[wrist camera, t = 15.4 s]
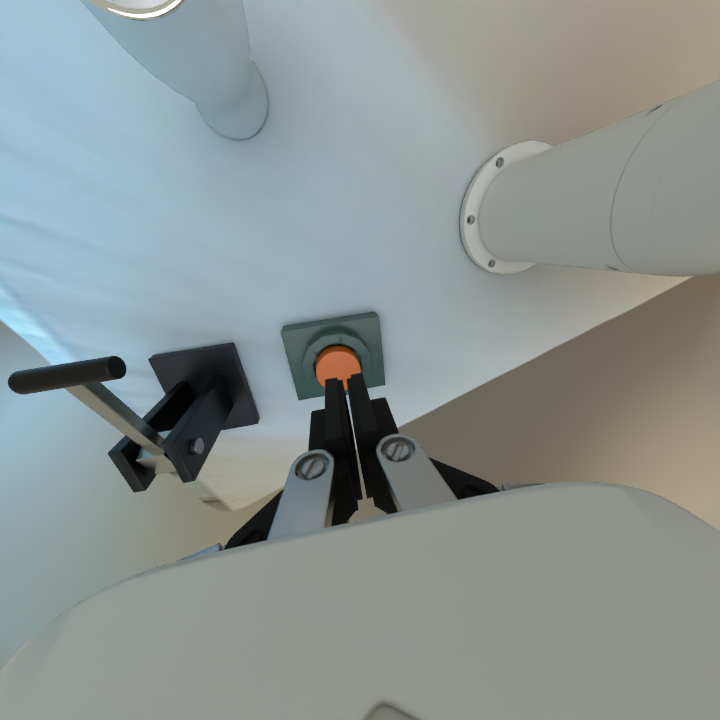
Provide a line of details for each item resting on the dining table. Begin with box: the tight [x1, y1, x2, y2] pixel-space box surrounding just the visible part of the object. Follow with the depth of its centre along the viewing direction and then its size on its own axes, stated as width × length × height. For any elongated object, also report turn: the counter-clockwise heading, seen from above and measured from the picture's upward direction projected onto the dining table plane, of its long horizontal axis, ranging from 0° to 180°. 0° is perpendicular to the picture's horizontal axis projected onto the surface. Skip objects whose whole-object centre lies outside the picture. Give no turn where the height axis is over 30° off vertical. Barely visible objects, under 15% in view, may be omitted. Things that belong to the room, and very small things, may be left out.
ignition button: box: [316, 346, 361, 390], centre depth 30 cm, size 5×5×2 cm
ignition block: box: [281, 312, 385, 400], centre depth 32 cm, size 11×9×4 cm
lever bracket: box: [108, 343, 259, 492], centre depth 28 cm, size 11×9×13 cm
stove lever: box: [8, 356, 176, 474], centre depth 20 cm, size 12×6×2 cm, turn 7°
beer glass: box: [80, 0, 268, 140], centre depth 16 cm, size 7×7×15 cm
